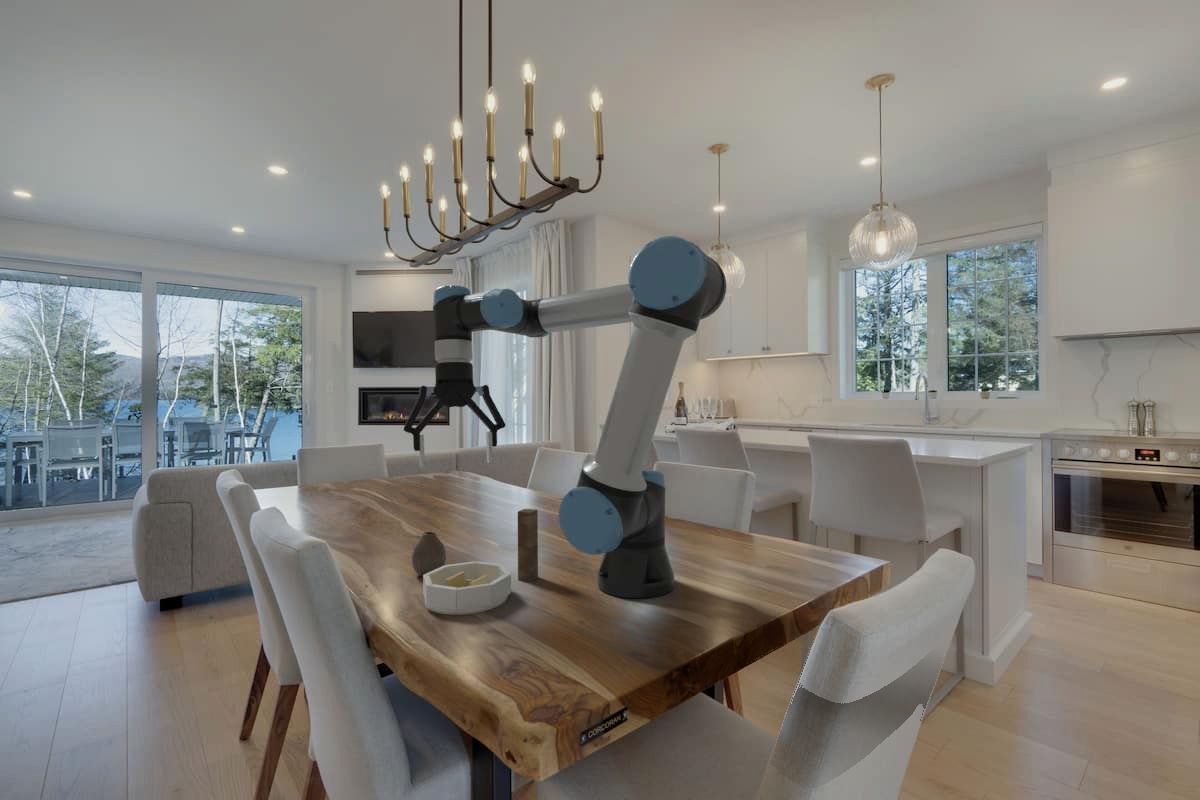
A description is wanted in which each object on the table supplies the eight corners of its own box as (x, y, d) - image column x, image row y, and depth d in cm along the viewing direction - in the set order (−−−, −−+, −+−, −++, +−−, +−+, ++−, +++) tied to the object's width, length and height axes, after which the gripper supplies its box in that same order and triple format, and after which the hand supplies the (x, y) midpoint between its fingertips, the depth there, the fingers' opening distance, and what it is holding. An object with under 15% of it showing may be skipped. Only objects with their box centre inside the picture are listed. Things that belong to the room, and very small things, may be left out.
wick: (537, 577, 112) (537, 509, 112) (530, 581, 109) (530, 512, 109) (525, 575, 113) (524, 508, 113) (517, 579, 110) (517, 511, 110)
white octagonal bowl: (522, 590, 104) (522, 567, 104) (478, 620, 90) (478, 593, 90) (458, 581, 109) (458, 559, 109) (406, 607, 95) (406, 582, 95)
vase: (435, 580, 110) (435, 537, 110) (405, 578, 111) (405, 536, 111) (451, 570, 116) (451, 529, 116) (422, 568, 118) (422, 528, 118)
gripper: (509, 364, 120) (512, 459, 119) (389, 363, 110) (391, 467, 110) (517, 360, 113) (520, 462, 112) (389, 360, 103) (392, 470, 103)
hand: (456, 465), depth 111 cm, fingers open, 13 cm apart
